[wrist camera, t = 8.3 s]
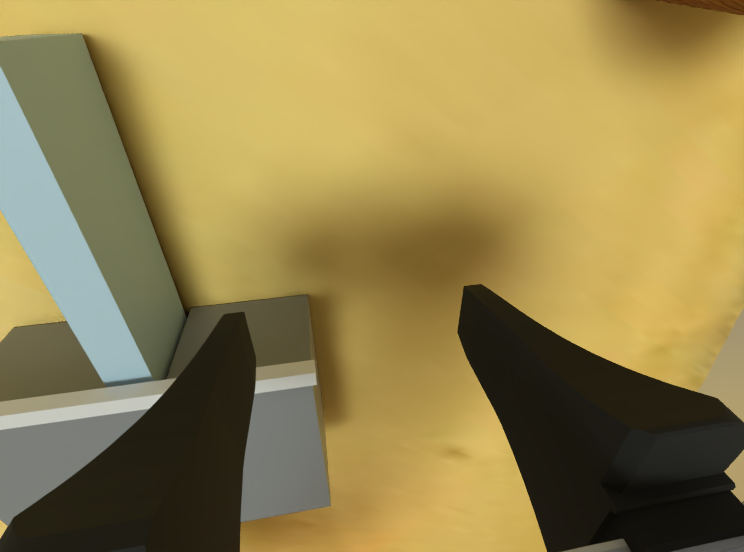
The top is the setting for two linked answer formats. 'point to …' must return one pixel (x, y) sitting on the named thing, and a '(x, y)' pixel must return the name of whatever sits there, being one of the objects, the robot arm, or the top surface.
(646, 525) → the robot arm
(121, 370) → the light blue rectangular block
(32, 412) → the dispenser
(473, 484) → the top surface
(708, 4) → the disposable coffee cup
